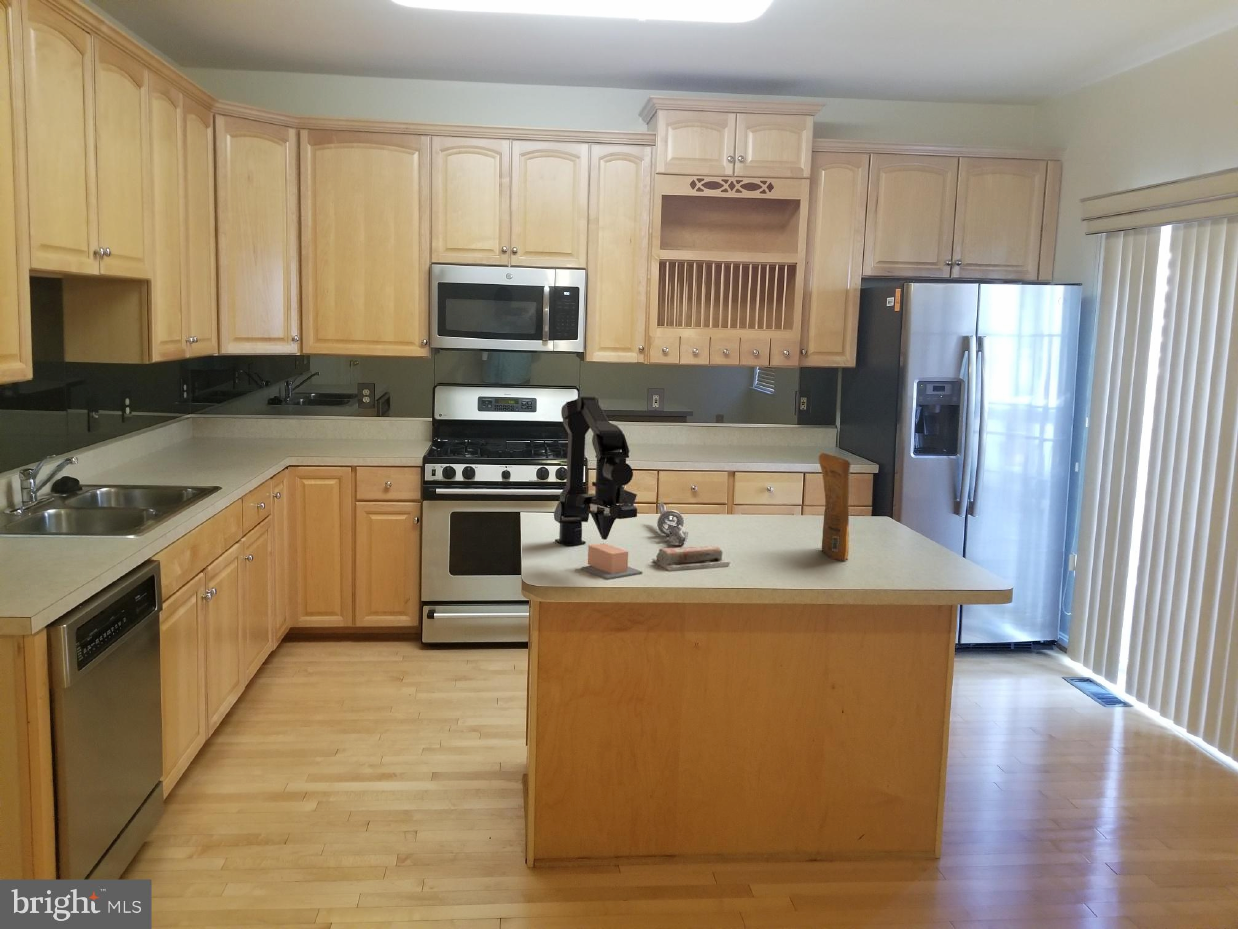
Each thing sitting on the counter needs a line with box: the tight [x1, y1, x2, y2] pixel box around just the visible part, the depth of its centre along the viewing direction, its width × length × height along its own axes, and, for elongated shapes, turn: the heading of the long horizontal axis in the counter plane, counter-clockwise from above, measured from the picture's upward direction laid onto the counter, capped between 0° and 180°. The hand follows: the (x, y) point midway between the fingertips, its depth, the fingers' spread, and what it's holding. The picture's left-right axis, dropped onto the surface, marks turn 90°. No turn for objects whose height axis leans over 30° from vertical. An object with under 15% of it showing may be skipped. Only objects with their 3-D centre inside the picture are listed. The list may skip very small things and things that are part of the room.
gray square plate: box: [580, 565, 643, 580], centre depth 250 cm, size 11×11×1 cm
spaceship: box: [656, 502, 689, 547], centre depth 292 cm, size 8×35×8 cm
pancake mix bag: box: [818, 452, 852, 562], centre depth 277 cm, size 7×19×28 cm, turn 6°
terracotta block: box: [587, 542, 629, 574], centre depth 251 cm, size 5×5×10 cm
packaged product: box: [652, 545, 731, 572], centre depth 261 cm, size 18×5×10 cm
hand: (604, 539), depth 252 cm, fingers closed
